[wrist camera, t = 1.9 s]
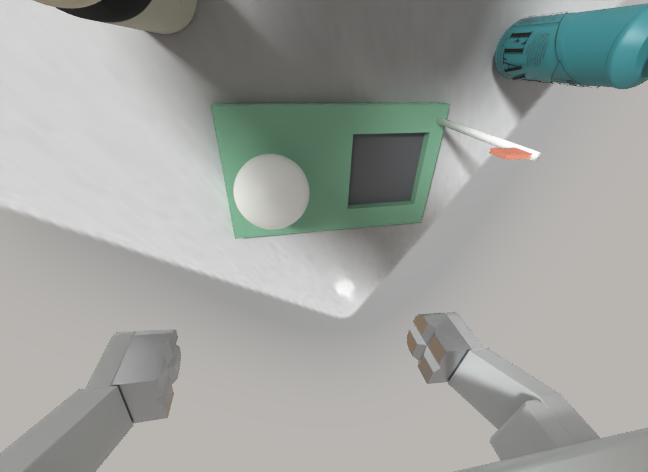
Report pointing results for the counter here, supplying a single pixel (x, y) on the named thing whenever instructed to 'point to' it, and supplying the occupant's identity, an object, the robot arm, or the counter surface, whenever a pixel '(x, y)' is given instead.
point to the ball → (271, 191)
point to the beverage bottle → (578, 48)
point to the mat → (345, 158)
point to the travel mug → (132, 12)
